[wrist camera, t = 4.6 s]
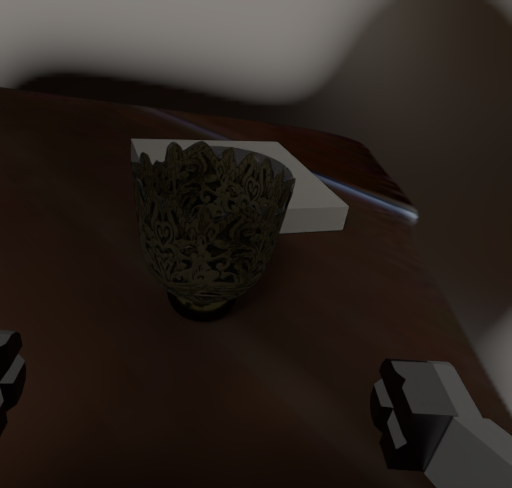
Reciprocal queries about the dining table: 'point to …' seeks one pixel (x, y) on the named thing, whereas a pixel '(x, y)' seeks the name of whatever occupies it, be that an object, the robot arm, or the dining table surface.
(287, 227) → the display tile
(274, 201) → the cup
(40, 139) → the dining table surface
